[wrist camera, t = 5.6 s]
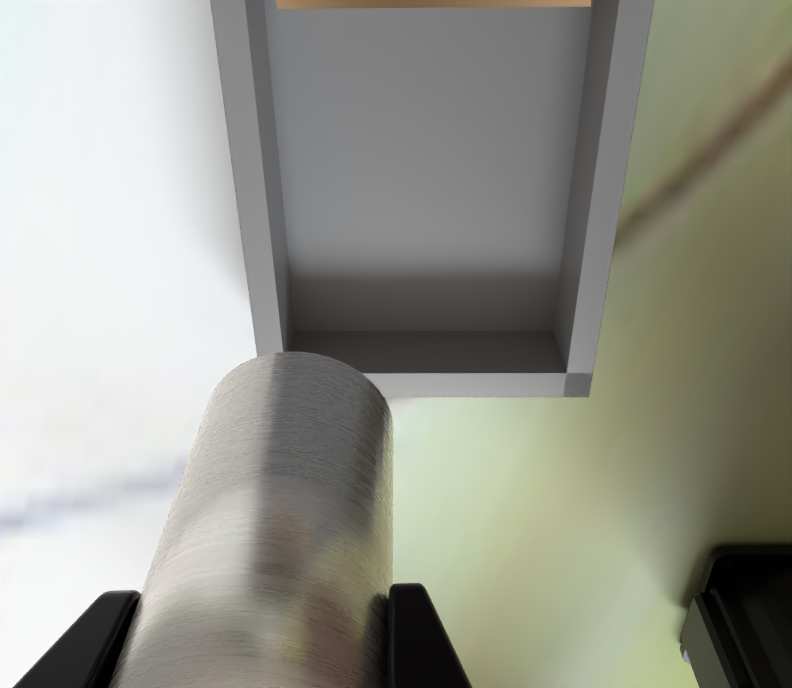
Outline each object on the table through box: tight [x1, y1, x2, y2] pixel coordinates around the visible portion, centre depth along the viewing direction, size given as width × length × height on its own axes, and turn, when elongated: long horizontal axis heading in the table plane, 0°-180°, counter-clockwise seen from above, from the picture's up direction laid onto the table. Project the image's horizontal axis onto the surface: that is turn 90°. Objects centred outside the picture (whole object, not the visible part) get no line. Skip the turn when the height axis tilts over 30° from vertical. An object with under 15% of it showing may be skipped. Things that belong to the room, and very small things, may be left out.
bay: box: [210, 0, 654, 397], centre depth 17 cm, size 9×18×3 cm, turn 1°
